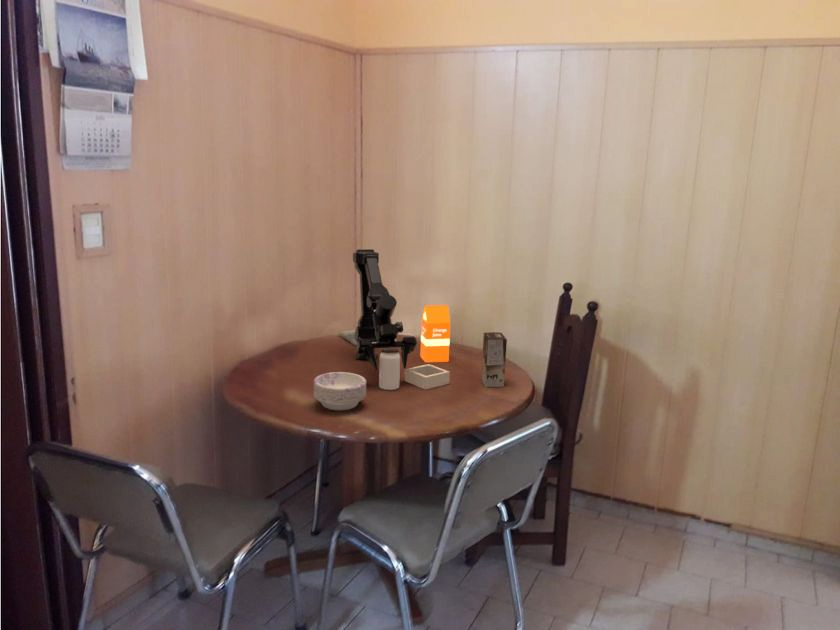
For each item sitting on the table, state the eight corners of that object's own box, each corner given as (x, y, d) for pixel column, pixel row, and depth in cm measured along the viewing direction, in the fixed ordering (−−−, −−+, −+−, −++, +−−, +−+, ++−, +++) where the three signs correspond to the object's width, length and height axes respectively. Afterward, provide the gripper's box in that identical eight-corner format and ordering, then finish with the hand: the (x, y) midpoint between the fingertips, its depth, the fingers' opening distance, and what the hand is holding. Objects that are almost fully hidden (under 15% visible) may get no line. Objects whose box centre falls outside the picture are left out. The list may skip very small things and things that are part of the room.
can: (396, 391, 214) (397, 354, 211) (376, 389, 215) (377, 352, 213) (401, 385, 220) (402, 349, 218) (381, 383, 222) (382, 347, 219)
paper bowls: (358, 417, 192) (359, 390, 191) (306, 412, 195) (306, 385, 193) (371, 398, 207) (371, 373, 205) (322, 394, 209) (322, 369, 208)
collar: (404, 380, 225) (404, 369, 224) (428, 375, 231) (428, 363, 230) (425, 389, 217) (425, 377, 216) (449, 383, 224) (449, 371, 223)
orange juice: (448, 361, 248) (451, 307, 243) (425, 362, 245) (427, 307, 241) (442, 355, 255) (445, 302, 250) (419, 356, 253) (421, 303, 248)
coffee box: (504, 387, 222) (507, 339, 218) (484, 387, 221) (487, 339, 218) (498, 378, 231) (501, 332, 227) (480, 378, 230) (482, 331, 227)
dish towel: (355, 348, 262) (356, 340, 261) (338, 337, 277) (338, 329, 276) (399, 344, 270) (399, 336, 270) (379, 333, 286) (380, 325, 285)
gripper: (358, 313, 214) (365, 357, 206) (416, 312, 219) (425, 355, 211) (353, 332, 223) (359, 374, 215) (408, 329, 228) (417, 371, 220)
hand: (390, 368), depth 215 cm, fingers open, 9 cm apart
